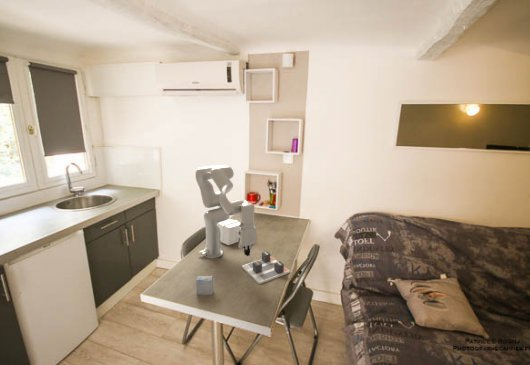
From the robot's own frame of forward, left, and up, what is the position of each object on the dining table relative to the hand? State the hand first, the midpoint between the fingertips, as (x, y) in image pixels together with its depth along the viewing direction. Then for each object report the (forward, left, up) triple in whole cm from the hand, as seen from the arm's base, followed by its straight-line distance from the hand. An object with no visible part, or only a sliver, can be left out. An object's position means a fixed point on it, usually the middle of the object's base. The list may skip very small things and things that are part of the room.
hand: (247, 254), depth 143 cm
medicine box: (-26, -1, -15) cm, 29 cm away
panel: (+13, 0, -14) cm, 20 cm away
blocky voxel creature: (+18, +49, -15) cm, 54 cm away
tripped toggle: (+7, 0, -13) cm, 15 cm away
